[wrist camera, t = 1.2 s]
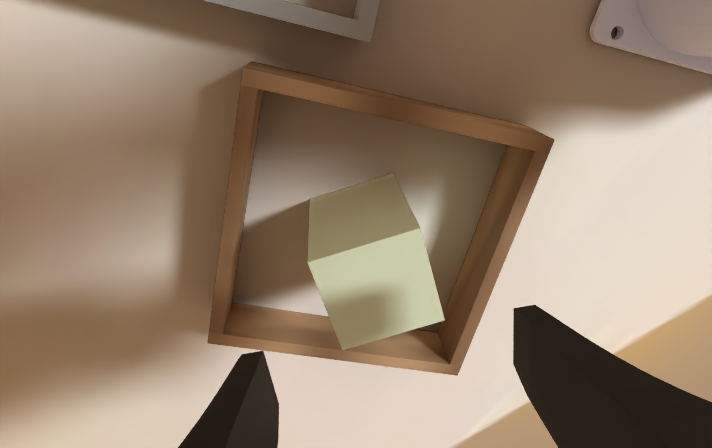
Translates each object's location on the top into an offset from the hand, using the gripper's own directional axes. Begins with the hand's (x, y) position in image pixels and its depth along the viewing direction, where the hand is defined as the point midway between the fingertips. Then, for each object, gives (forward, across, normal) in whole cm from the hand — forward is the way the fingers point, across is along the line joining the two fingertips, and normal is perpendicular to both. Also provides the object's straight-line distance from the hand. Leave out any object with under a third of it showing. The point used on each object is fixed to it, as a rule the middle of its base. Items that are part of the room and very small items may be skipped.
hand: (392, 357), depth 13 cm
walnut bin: (+9, 0, 0) cm, 9 cm away
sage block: (+10, 0, 0) cm, 10 cm away
